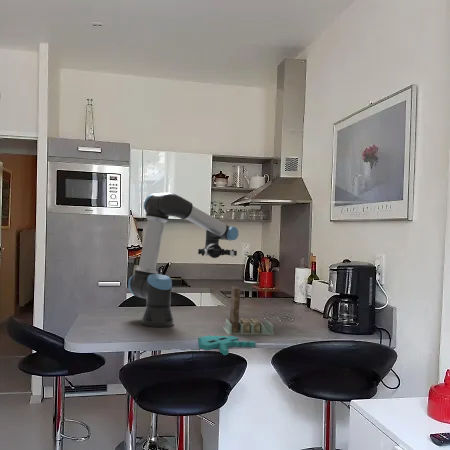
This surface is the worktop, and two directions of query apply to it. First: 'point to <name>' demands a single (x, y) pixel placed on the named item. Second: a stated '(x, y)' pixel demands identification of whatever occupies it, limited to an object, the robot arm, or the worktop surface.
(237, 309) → the walnut panel
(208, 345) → the alien figure
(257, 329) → the pine offcut
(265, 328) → the slot rack
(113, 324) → the worktop surface
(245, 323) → the pine offcut
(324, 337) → the worktop surface
